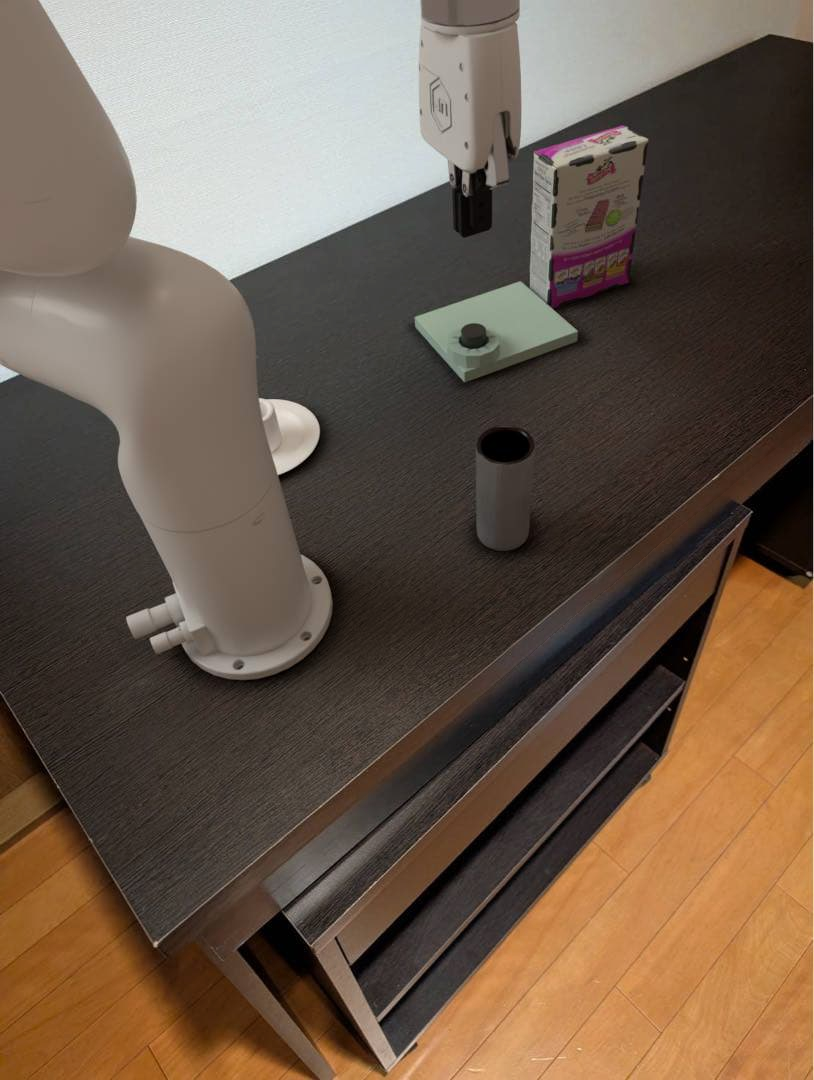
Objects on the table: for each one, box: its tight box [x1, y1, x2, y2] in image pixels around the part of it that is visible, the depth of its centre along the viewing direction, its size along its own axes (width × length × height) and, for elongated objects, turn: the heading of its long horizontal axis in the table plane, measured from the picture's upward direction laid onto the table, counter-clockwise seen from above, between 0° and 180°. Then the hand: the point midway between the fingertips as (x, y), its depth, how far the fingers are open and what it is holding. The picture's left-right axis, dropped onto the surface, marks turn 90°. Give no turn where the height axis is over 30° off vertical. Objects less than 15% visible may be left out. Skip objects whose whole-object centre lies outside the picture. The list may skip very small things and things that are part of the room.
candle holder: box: [259, 397, 321, 476], centre depth 75 cm, size 12×12×4 cm
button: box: [461, 323, 486, 349], centre depth 80 cm, size 3×3×2 cm
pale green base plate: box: [414, 280, 579, 383], centre depth 84 cm, size 14×12×3 cm
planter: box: [475, 424, 536, 552], centre depth 62 cm, size 4×4×10 cm
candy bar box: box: [528, 125, 649, 310], centre depth 84 cm, size 11×5×16 cm, turn 114°
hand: (472, 229), depth 71 cm, fingers closed
